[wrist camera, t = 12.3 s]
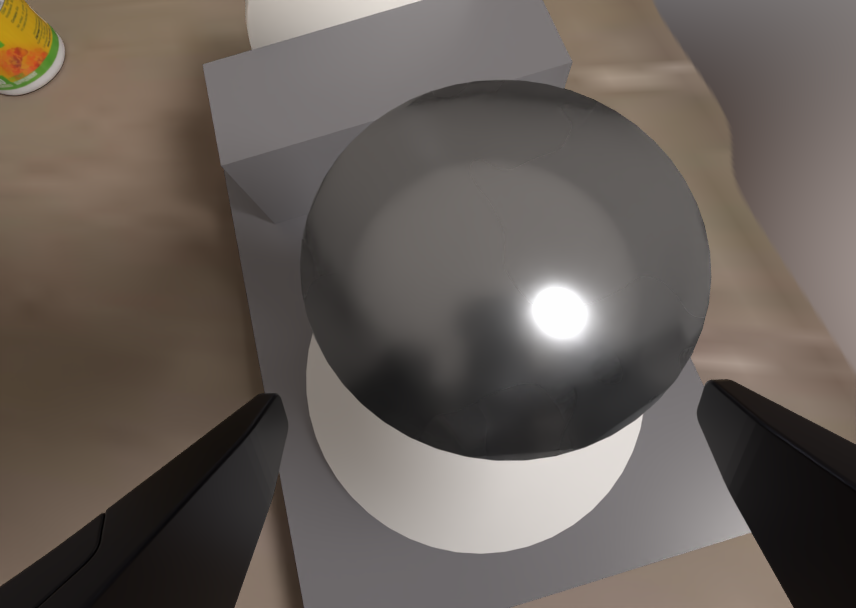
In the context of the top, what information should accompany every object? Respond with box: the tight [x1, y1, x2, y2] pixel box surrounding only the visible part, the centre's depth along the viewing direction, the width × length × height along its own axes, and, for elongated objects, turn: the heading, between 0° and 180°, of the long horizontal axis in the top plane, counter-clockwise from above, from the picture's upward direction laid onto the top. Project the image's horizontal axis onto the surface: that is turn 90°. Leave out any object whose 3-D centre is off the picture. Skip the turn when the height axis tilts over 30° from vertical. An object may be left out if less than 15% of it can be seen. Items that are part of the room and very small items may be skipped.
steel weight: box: [300, 80, 711, 461], centre depth 12 cm, size 5×5×13 cm
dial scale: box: [203, 0, 751, 608], centre depth 16 cm, size 24×18×11 cm
